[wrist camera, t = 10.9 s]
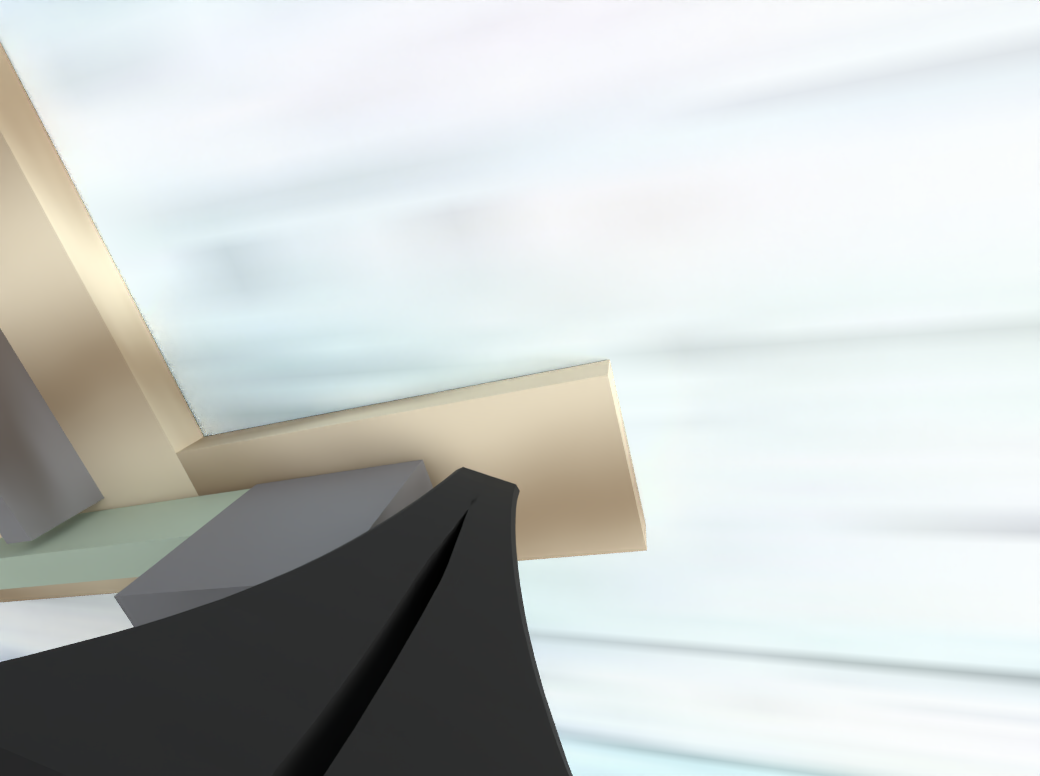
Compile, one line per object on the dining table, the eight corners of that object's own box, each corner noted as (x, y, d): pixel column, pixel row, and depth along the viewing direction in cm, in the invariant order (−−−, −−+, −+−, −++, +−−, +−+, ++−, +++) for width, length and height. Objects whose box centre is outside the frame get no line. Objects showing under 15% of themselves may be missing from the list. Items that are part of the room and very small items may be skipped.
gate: (30, 518, 16) (-150, 616, 12) (422, 459, 12) (331, 579, 8) (51, 548, 16) (-118, 653, 12) (438, 502, 12) (357, 635, 9)
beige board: (-359, 235, 16) (-557, 244, 14) (476, -248, 8) (397, -476, 5) (-73, 592, 21) (-178, 652, 18) (645, 524, 13) (649, 616, 10)
